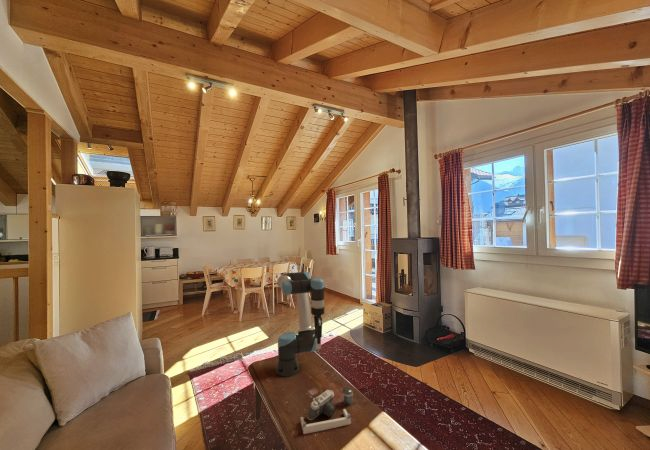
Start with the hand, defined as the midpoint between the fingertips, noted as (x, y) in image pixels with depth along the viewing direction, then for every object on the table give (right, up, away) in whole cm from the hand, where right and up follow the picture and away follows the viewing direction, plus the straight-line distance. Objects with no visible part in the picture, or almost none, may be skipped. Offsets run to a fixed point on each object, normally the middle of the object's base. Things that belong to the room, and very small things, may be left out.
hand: (318, 348), depth 158 cm
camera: (+2, -25, -19) cm, 31 cm away
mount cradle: (+4, -24, -26) cm, 35 cm away
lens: (+16, -24, -11) cm, 31 cm away
